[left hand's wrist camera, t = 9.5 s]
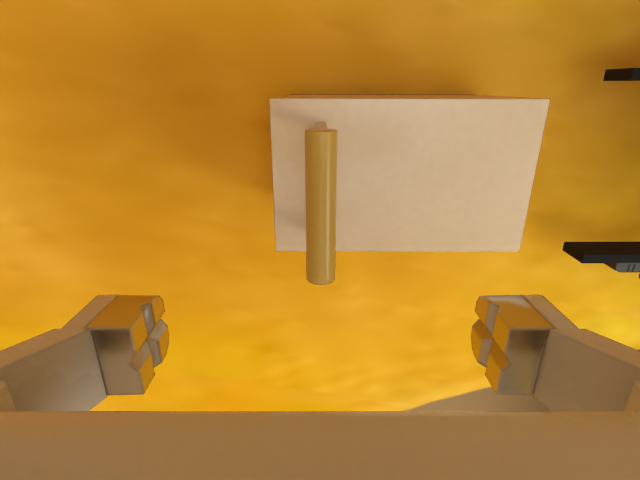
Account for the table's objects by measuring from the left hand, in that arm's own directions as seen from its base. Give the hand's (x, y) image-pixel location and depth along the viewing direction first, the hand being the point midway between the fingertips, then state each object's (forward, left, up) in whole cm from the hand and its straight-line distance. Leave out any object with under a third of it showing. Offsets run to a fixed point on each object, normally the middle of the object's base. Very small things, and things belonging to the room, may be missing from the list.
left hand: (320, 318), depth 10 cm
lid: (+5, -1, -17) cm, 18 cm away
